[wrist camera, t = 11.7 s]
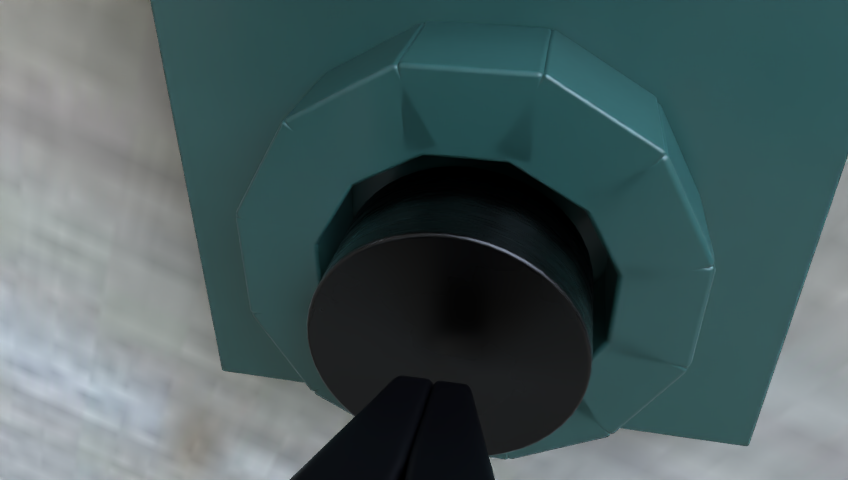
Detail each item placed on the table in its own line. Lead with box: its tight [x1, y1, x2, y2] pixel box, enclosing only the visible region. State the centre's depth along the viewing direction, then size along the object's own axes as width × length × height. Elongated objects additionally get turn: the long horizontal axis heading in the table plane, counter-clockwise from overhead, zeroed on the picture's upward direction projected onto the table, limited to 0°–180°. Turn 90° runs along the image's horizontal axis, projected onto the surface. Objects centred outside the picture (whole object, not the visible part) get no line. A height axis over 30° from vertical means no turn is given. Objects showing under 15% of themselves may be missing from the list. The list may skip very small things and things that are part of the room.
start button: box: [307, 166, 594, 456], centre depth 10 cm, size 4×4×2 cm
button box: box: [150, 0, 848, 459], centre depth 12 cm, size 10×8×4 cm
